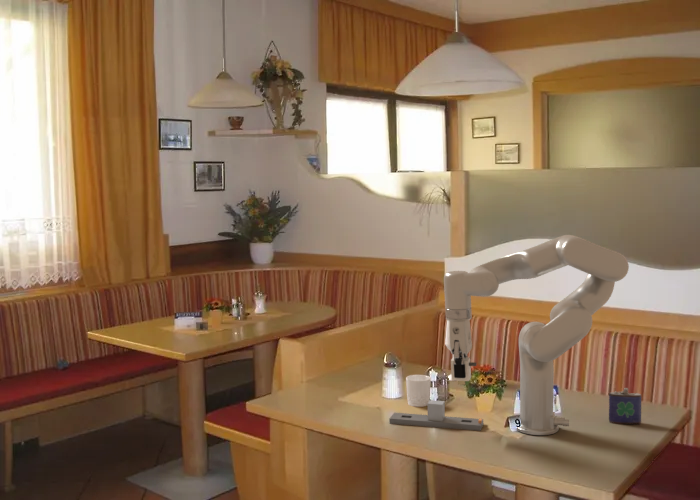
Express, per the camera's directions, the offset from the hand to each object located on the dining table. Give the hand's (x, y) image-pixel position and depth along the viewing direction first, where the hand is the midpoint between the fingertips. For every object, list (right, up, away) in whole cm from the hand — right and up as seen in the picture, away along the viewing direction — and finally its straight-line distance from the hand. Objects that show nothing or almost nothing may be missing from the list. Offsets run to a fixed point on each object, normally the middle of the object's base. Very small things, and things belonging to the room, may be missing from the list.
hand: (461, 374), depth 230 cm
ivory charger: (0, -3, 0) cm, 3 cm away
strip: (-7, -17, +4) cm, 18 cm away
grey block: (-7, -15, +3) cm, 17 cm away
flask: (+50, -16, +6) cm, 52 cm away
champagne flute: (+6, -11, +60) cm, 61 cm away
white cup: (-10, -15, +24) cm, 30 cm away
